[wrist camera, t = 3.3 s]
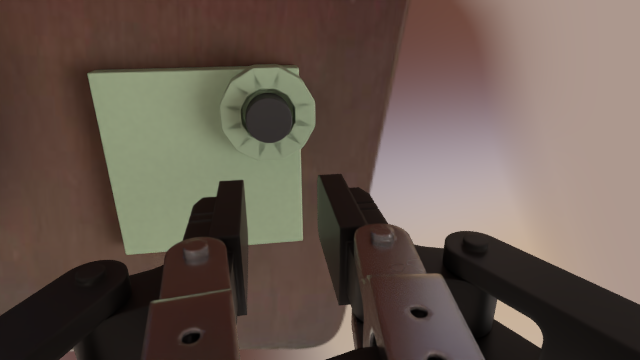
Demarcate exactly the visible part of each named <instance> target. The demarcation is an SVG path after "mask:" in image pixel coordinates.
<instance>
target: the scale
mask: <svg viewBox="0 0 640 360" xmlns="http://www.w3.org/2000/svg"><path fill="white" fill-rule="evenodd" d="M87 76H88V80H89V85H90V90H91V94H92V99H93V104H94V108H95V113H96V117H97V122H98V127H99V131H100V136H101V141H102V145H103V150H104V155H105V159H106V164H107V169H108V173H109V178H110V183H111V187H112V192H113V196H114V201H115V206H116V210H117V215H118V220H119V224H120V229H121V234H122V238H123V243H124V248H125V252H126V255H130V254H143V253H155V252H167V251H168V250H169V249H170V248H171V247H172V246H173V245H175V244H177V243H179V242H181V241H183V237H184V234H185V231H186V227H187V224H188V223H189V222H188V221H189V218H190V216H191V211H192V208H193V205H194V204H196V203H197V202H198V201H199V200H200V199H201V198H203V197H216V196H217V191H218V186H219V181H230V180H243V181H244V190H245V202H246V214H247V226H248V245H253V244H266V243H278V242H290V241H302V240H303V223H302V182H301V148H303V146H304V145H305V143H306V142H307V140H308V138H309V136H310V134H311V133H312V131H313V129H314V127H315V102H314V99H313V97H312V96H311V94H310V92H309V91H308V89H307V87H306V86H305V84H304V82H303V81H302V79H301V78H300V77H299V69H298V67H297V66H296V65H277V64H255V65H251V66H234V67H192V68H151V69H109V70H94V71H92V72H89V73H87ZM262 93H273V94H276V95H279V96H280V97H282V98H283V99H284V100H285V101H286V103H287V104H288V106H289V109H290V111H291V114H292V127H291V129H290V132H289V133H288V134H287V136H286V137H285V138H283V139H282V140H280V141H278V142H275V143H264V142H260V141H258V140H256V139H255V138H254V137H253V136H252V135H251V134H250V133H249V131H248V129H247V127H246V109H247V106H248V104H249V102H250V101H251V100H252V99H253V98H254V97H256V96H257V95H259V94H262Z"/></svg>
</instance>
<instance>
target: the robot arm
mask: <svg viewBox="0 0 640 360" xmlns="http://www.w3.org/2000/svg"><path fill="white" fill-rule="evenodd" d="M317 196H318V231H319V238H320V242H321V245H322V249H323V252H324V256H325V259H326V262H327V266H328V269H329V273H330V276H331V280H332V283H333V287H334V290H335V293H336V297H337V300H338V304H339V305H349V304H351V307H352V331H353V339H354V346H355V350H352V351H349V352H347V353H344V354H341V355H338V356H335V357H332V358H329V359H326V360H640V305H639V304H637V303H635V302H633V301H631V300H628V299H626V298H624V297H622V296H620V295H618V294H615V293H613V292H611V291H609V290H607V289H605V288H602V287H600V286H598V285H596V284H593V283H592V282H589V281H587V280H585V279H583V278H581V277H578V276H576V275H574V274H572V273H570V272H568V271H565V270H563V269H561V268H559V267H557V266H554V265H552V264H550V263H548V262H546V261H544V260H541V259H539V258H537V257H535V256H533V255H531V254H528V253H526V252H524V251H522V250H520V249H517V248H515V247H513V246H511V245H509V244H506V243H505V242H502V241H500V240H498V239H496V238H494V237H491V236H489V235H486V234H483V233H479V232H473V231H472V232H471V231H460V232H455V233H452V234H450V235H448V236H447V237H446V239H445V245H444V248H433V247H424V246H418V245H414V244H413V242H412V240H411V238H410V236H409V234H408V233H407V232H406V231H405V230H403V229H402V228H400V227H397V226H394V225H390V224H388V223H387V221H386V220H385V218H384V217H383V215H382V213H381V212H380V211H379V209H378V207H377V205H376V204H375V203H374V201H373V199H372V198H371V196H370V194H369V193H367V192H365V191H364V190H362V189H360V188H359V187H357V188H349V187H348V185H347V184H346V182H345V180H344V178H343V176H342V174H330V175H318V181H317ZM188 222H189V223H188V224H187V227H186V231H185V234H184V237H183V241H181V242H179V243H177V244H175V245H173V246H172V247H171V248H170V249H169V250H168V251H167V252H166V254H165V259H164V265H162V266H160V267H157V268H155V269H152V270H149V271H145V272H141V273H137V274H134V275H130V276H129V274H128V269H127V267H126V265H125V264H124V263H122V262H119V261H115V260H100V261H94V262H89V263H86V264H83V265H80V266H78V267H76V268H74V269H72V270H70V271H68V272H67V273H65V274H64V275H62V276H60V277H59V278H57V279H56V280H54V281H53V282H51V283H50V284H48V285H47V286H45V287H44V288H42V289H41V290H39V291H38V292H36V293H34V294H33V295H31V296H30V297H28V298H27V299H25V300H24V301H22V302H21V303H19V304H18V305H16V306H15V307H13V308H12V309H10V310H9V311H7V312H5V313H4V314H2V315H1V316H0V360H59V359H60V358H62V357H63V356H64V355H65V354H66V353H67V352H69V351H70V350H71V349H72V348H74V351H75V355H76V358H77V360H240V355H239V346H238V338H237V329H236V325H237V316H241V315H247V283H248V226H247V214H246V202H245V190H244V181H243V180H230V181H219V186H218V191H217V196H216V197H203V198H201V199H200V200H199V201H198V202H197V203H196V204H194V205H193V208H192V211H191V216H190V218H189V221H188ZM497 299H498V300H500V301H501V302H503V303H505V304H507V305H508V306H510V307H512V308H514V309H515V310H517V311H519V312H521V313H522V314H524V315H526V316H527V317H529V318H531V319H532V320H533V321H534V322H535V323H536V324H537V325H538V326H539V328H540V329H541V332H542V334H543V344H542V348H539V347H537V346H536V345H534V344H533V343H531V342H529V341H528V340H526V339H525V338H523V337H522V336H520V335H518V334H517V333H515V332H514V331H512V330H510V329H509V328H507V327H506V326H504V325H502V324H501V323H499V322H498V321H496V320H494V313H495V308H496V302H497Z"/></svg>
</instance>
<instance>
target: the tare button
mask: <svg viewBox="0 0 640 360" xmlns="http://www.w3.org/2000/svg"><path fill="white" fill-rule="evenodd" d="M246 127H247V129H248V131H249V133H250V134H251V135H252V136H253V137H254V138H255V139H256V140H258V141H260V142H264V143H275V142H278V141H280V140H282V139H283V138H285V137H286V136H287V134H288V133H289V132H290V129H291V127H292V114H291V111H290V109H289V106H288V104H287V103H286V101H285V100H284V99H283V98H282V97H280V96H279V95H276V94H273V93H262V94H259V95H257V96H256V97H254V98H253V99H252V100H251V101H250V102H249V104H248V106H247V109H246Z"/></svg>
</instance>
